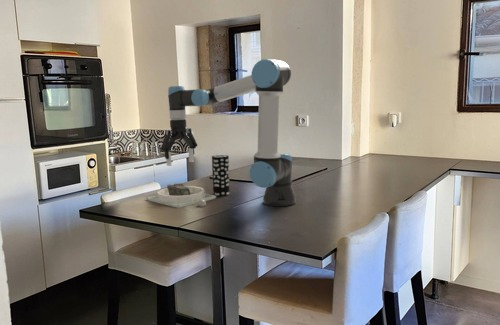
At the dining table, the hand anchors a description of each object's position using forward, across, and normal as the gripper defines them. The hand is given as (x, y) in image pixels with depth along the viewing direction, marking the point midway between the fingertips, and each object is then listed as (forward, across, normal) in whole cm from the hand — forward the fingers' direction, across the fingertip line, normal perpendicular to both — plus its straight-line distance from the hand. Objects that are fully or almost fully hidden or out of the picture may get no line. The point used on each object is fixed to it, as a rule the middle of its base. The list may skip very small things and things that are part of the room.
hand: (180, 163), depth 220 cm
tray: (+18, 0, -1) cm, 18 cm away
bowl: (+17, 0, -1) cm, 17 cm away
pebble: (+16, +3, +16) cm, 22 cm away
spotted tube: (+18, -19, +7) cm, 27 cm away
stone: (+17, 0, -1) cm, 17 cm away
